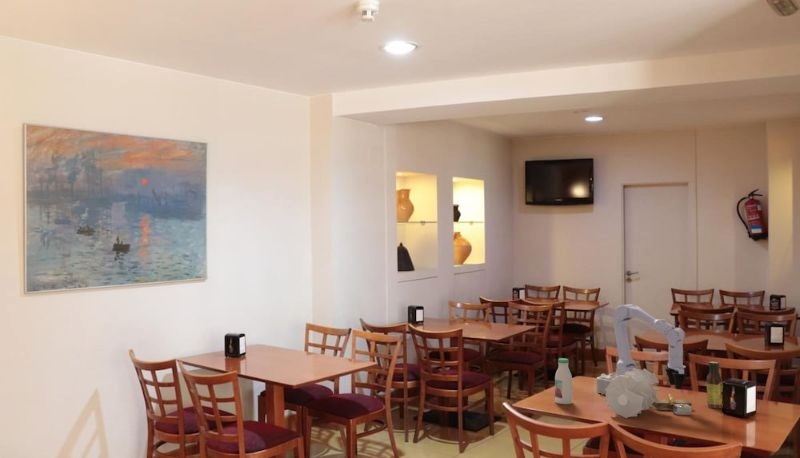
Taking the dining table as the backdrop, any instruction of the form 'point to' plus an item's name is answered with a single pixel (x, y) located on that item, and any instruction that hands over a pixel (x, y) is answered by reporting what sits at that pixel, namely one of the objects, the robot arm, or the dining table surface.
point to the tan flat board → (666, 406)
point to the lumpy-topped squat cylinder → (604, 382)
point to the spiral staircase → (631, 392)
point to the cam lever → (670, 400)
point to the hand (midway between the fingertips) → (675, 386)
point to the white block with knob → (682, 409)
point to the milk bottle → (563, 383)
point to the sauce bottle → (714, 386)
